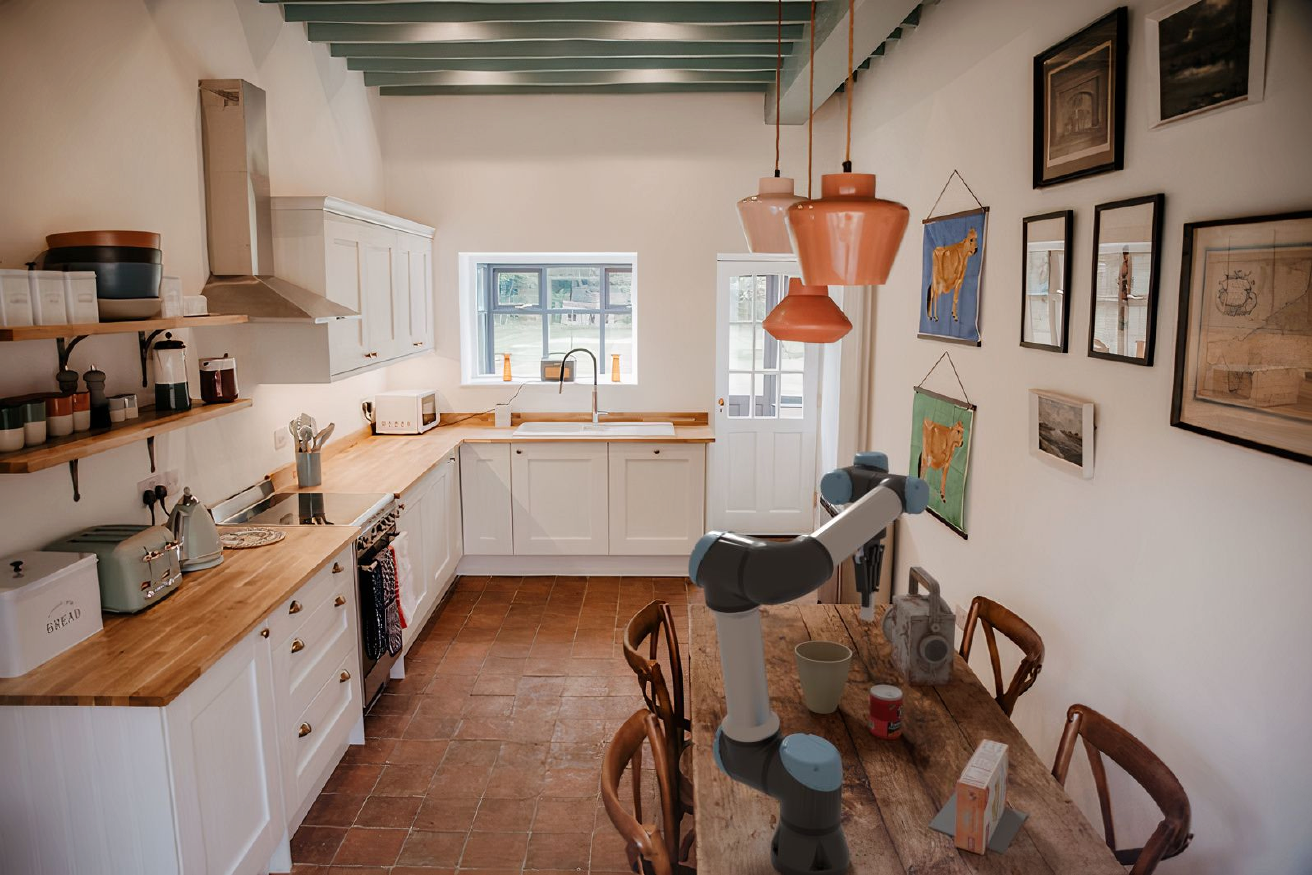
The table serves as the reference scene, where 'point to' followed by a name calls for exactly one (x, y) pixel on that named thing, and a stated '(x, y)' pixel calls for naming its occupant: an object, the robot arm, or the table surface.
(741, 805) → the table surface
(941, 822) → the mat
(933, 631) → the lantern
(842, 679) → the plant pot
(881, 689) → the canned food
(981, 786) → the cracker box
